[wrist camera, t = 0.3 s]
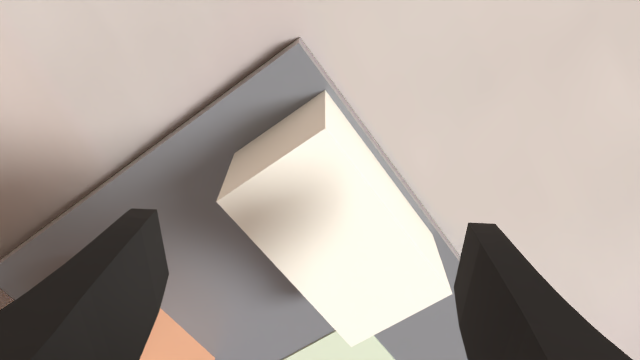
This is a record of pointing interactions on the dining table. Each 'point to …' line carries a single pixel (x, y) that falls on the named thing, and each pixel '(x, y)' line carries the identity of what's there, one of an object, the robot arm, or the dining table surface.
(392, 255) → the cream brick
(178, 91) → the dining table surface
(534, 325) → the robot arm
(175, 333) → the terracotta brick
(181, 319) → the baseplate
